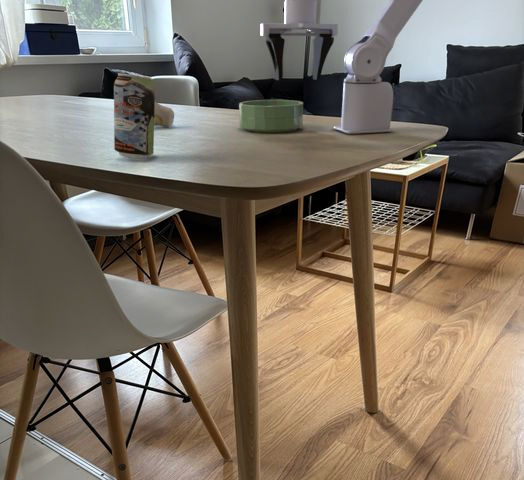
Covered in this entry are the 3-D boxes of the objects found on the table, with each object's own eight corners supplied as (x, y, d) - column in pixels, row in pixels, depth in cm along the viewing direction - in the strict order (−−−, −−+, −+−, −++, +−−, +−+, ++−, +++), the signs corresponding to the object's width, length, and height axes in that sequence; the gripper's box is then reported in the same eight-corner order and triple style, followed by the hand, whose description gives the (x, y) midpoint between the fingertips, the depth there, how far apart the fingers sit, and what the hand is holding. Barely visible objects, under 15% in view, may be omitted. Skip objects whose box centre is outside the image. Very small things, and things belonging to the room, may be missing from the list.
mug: (180, 129, 110) (153, 85, 103) (142, 150, 112) (113, 109, 105) (180, 116, 115) (154, 73, 108) (144, 136, 117) (117, 96, 111)
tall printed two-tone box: (108, 158, 82) (95, 73, 75) (147, 152, 86) (138, 71, 80) (130, 163, 78) (117, 74, 71) (169, 157, 82) (161, 72, 76)
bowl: (291, 123, 115) (291, 98, 112) (311, 131, 104) (312, 104, 101) (234, 126, 112) (233, 101, 109) (248, 135, 101) (247, 107, 99)
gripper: (268, -8, 87) (267, 81, 94) (346, -6, 90) (340, 80, 97) (257, -5, 93) (257, 79, 100) (331, -3, 96) (327, 78, 103)
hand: (297, 80), depth 99 cm, fingers open, 7 cm apart
